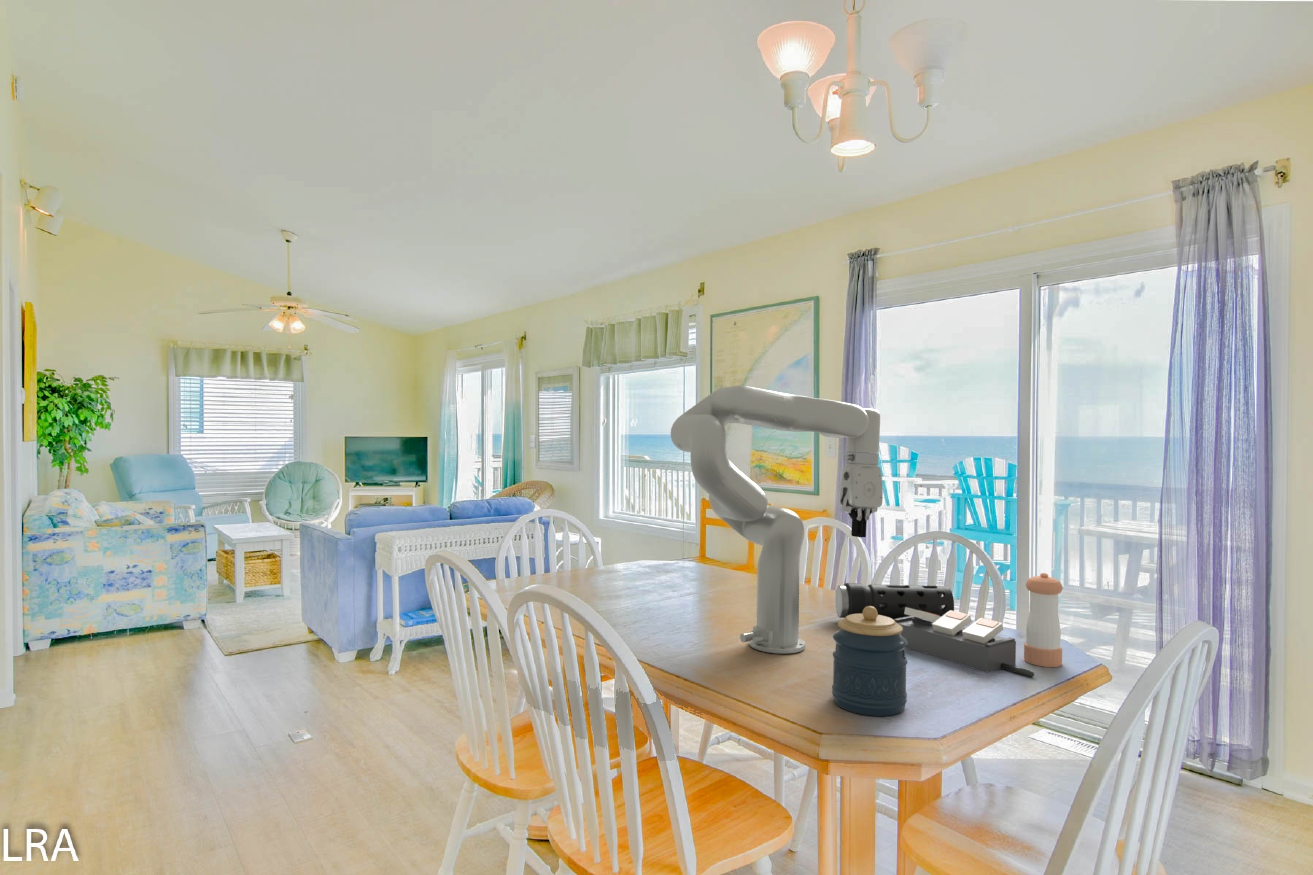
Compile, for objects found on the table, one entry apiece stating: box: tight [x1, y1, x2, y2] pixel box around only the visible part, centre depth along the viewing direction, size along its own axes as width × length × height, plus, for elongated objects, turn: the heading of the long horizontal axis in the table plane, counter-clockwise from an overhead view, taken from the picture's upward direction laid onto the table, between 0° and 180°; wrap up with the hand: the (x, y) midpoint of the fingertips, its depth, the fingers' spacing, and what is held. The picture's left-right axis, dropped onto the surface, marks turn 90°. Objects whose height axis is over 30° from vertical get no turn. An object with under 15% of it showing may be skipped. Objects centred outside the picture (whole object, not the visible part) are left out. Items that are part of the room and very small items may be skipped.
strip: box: [894, 616, 1035, 678], centre depth 160 cm, size 10×31×6 cm, turn 33°
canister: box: [831, 606, 908, 717], centre depth 131 cm, size 13×13×18 cm
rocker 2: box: [932, 610, 972, 636], centre depth 163 cm, size 7×5×2 cm
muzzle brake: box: [834, 582, 955, 620], centre depth 188 cm, size 10×28×10 cm, turn 89°
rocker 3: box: [962, 617, 1004, 644], centre depth 156 cm, size 7×5×2 cm
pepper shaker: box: [1023, 572, 1064, 668], centre depth 157 cm, size 7×7×19 cm
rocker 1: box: [904, 607, 941, 622], centre depth 169 cm, size 7×5×2 cm
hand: (858, 536), depth 174 cm, fingers closed
